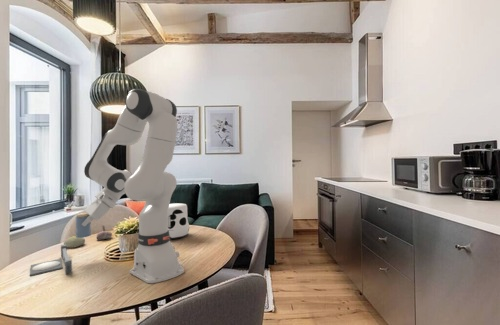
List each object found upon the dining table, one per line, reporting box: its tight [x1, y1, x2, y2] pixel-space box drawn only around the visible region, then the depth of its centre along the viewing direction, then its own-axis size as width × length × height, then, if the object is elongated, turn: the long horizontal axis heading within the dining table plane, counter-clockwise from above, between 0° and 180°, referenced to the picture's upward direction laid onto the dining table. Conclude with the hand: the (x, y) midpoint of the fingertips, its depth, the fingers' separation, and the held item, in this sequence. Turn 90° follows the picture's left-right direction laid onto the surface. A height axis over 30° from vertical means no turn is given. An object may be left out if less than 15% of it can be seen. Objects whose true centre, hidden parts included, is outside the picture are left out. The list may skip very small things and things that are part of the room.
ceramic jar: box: [75, 212, 92, 238], centre depth 111 cm, size 6×6×10 cm
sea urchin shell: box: [63, 235, 86, 249], centre depth 131 cm, size 9×8×8 cm
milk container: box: [168, 202, 190, 240], centre depth 143 cm, size 17×17×18 cm
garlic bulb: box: [96, 224, 113, 241], centre depth 141 cm, size 8×7×8 cm
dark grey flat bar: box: [60, 244, 73, 276], centre depth 107 cm, size 26×2×5 cm, turn 40°
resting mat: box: [29, 258, 63, 277], centre depth 103 cm, size 12×10×1 cm
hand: (81, 224), depth 111 cm, fingers closed on ceramic jar, 5 cm apart
